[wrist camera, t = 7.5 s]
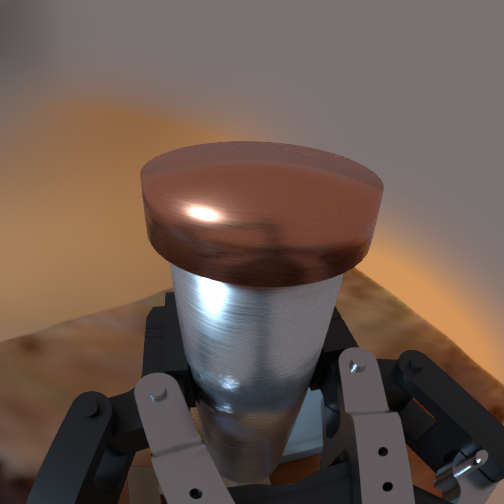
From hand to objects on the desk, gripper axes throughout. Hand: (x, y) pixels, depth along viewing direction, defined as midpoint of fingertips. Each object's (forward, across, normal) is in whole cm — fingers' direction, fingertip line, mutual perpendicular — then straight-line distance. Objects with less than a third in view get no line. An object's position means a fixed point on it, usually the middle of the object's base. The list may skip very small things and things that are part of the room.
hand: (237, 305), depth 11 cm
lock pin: (-3, 0, +9) cm, 9 cm away
